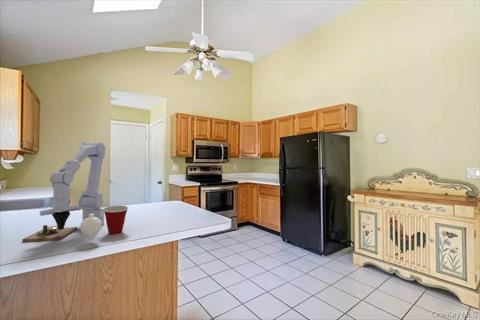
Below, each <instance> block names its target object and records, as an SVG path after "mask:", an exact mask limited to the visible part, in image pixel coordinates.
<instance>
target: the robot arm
mask: <svg viewBox="0 0 480 320" xmlns="http://www.w3.org/2000/svg"><path fill="white" fill-rule="evenodd" d="M105 154H106V146H105V144H104V143H103V142H86V141H84V142H82V143H81V144H80V145H79V151H78V152H77V153H76V154H75V156H74V157H73V158H72V159H69V160H68V159H67V160H66V162H65V163H64V165H63V166H62V167H61V168H60V169H59V170H57V171H54V172H53V173H52V174H51V175H50V177H49V181H50V184H51V187H52V189H53V192H52V195H53V197H52V199H53V200H52V208H48V209H44V210H43V209H42V210H39V216H41V217H44V216H48V215H51V216H52V217H53V219H54V221H55V223H56V226H58V229H59V230H62V229H64V228H65V225H66V224H67V223H66V222H67V220H68V219H69V217H70V216H71V212H74V211H81V210H82V219H81V220H82V221H83V220H84V219H86V218H89V214H94V217H97V218H99V219H100V220H101V222H102V225H103V224H105V213H104V211H103V209H104V208H101V207H102V206H103V202H104V199H103V196H104V195H103V193H102V192H100V191H99V187H100V180H101V175H102V174H101V173H102V168H103V167H102V166H103V160H104V158H105ZM86 158H87V159H89V160H90V166H89V167H90V168H89V171H88V173H89V174H88V179H87V185H86V190H84V191H83V192H81V193H80V198H79V200H78V205H73V206H71V205H70V194H71V193H70V190H71V189H70V188H71V184H72V183H73V182H74V178H75V175H76V174H77V172H78V171H79V170H80V169H81V163H83V161H85V160H86ZM82 221H81V222H82ZM78 228H80V226H78Z"/></svg>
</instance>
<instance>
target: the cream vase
mask: <svg viewBox="0 0 480 320" xmlns="http://www.w3.org/2000/svg"><path fill="white" fill-rule="evenodd" d="M102 225H103V224H102V222H101V220H100V219H99V218H97V217H94V214H89V218H86V219H84V220H83V221H81V223H80V225H79V227H80V231H81V233H82V234H83V235H84V236H85V238H86V239H87V240H89V241H90V243H92V241H93V240H94V239H95V238H96V236H97V235H98V234H99V232H100V230H101V229H102Z"/></svg>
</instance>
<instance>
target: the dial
mask: <svg viewBox="0 0 480 320" xmlns="http://www.w3.org/2000/svg"><path fill="white" fill-rule="evenodd" d="M42 230H43V233H47V232H48V231H52V230H58V226H57V225H51V226H48V224H44V225H43V226H42Z"/></svg>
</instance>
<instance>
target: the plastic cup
mask: <svg viewBox="0 0 480 320" xmlns="http://www.w3.org/2000/svg"><path fill="white" fill-rule="evenodd" d="M102 209H103V211H104V218H105V222H106V227H107V232H108V235H118V234H122V233H123V230H124V225H125V221H126V216H127V212H128V209H129V207H128V206H126V205H111V206H106V207H104V208H102Z"/></svg>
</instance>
